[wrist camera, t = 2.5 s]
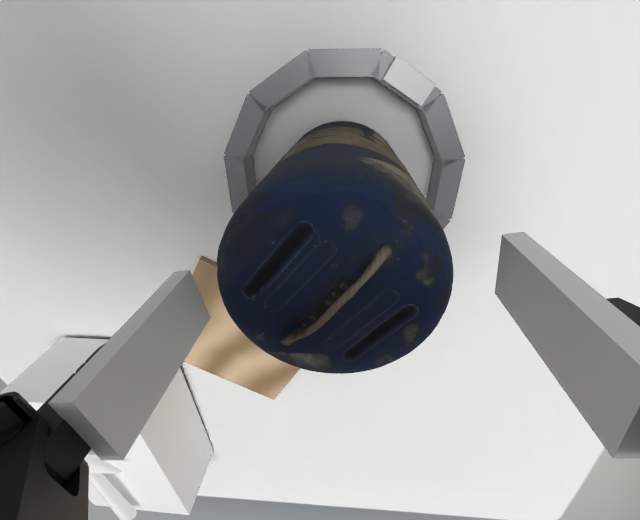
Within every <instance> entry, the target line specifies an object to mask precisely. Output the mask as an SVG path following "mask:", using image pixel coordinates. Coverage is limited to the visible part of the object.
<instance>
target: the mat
mask: <svg viewBox="0 0 640 520" xmlns="http://www.w3.org/2000/svg"><path fill="white" fill-rule="evenodd" d="M217 269H218V265H217V263H215V262H213V261H211V260H209V259H207V258H205V257H203V256H202V257H201V258H200V260H199V262H198V264H197V267H196V269H195V272H194V274H193V279H194V281H195V283H196V285H197V288H198V290H199V292H200V294H201V297H202V299H203V301H204V303H205V306H206V308H207V310H208V312H209V315H210V317H211V318H210V319H209V321H208V323H207V324H206V326H205V328H204V329H203V331H202V333H201V334H200V336H199V337H198V339H197V341H196V342H195V344H194V346H193V347H192V349H191V351H190V352H189V354H188V355H187V357H186V359H185V360H184V362H186V363H188V364H190V365H193V366H195V367H198V368H200V369H202V370H205V371H207V372H209V373H212V374H214V375H217V376H219V377H221V378H224V379H226V380H228V381H231V382H233V383H236V384H238V385H240V386H243V387H245V388H247V389H250V390H252V391H255V392H257V393H259V394H262V395H264V396H266V397H269V398H271V399H275V398H276V397H277V396H278V394H279V393H280V392H281V391H282V390H283V388H284V387H285V386H286V385H287V384H288V382H289V381H290V380H291V379H292V378H293V376H294V375H295V374H296V373H297V372H298V370H299V369H300V368H298V367H295V366H292V365H290V364H287V363H285V362H282V361H280V360H278V359H276V358H274V357H273V356H271V355H269V354H268V353H266V352H265V351H263V350H262V349H260V348H259V347H258V346H257V345H255V344H254V343H253V342H252V341H251V340H249V339H248V338H247V337H246V336H245V335H244V333H243V332H242V331H241V330H240V329H239V328H238V327H237V325H236V324H235V323H234V321H233V320H232V318H231V317H230V315H229V314H228V312H227V310H226V307H225V306H224V303H223V300H222V297H221V294H220V291H219V286H218V280H217Z"/></svg>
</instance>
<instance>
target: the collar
mask: <svg viewBox="0 0 640 520" xmlns="http://www.w3.org/2000/svg"><path fill="white" fill-rule="evenodd" d="M327 77H372V78H374V79H375V80H376V81H378V82H379V83H381V84H382V85H384V86H385V87H386V88H388V89H389V90H391V91H392V92H394V93H395V94H396V95H398V96H399V97H401V98H402V99H404V100H405V101H406V102H408V103H409V104H411V105H412V106H414V107H415V108H416V109H417V112H418V114H419V117H420V120H421V122H422V125H423V127H424V130H425V133H426V135H427V138H428V140H429V143H430V146H431V148H432V151H433V153H434V156H435V158H434V163H433V169H432V174H431V180H430V185H429V191H428V196H427V203H428V205H429V206H430V208H431V209H432V211H433V213H434V214H435V216H436V218H437V219H438V221H439V223H440V225H441V227H442V229H444V228H445V226H446V225H447V224H448V223H449V222H450V220H449V219H451V218H452V214H453V210H454V205H455V201H456V197H457V193H458V188H459V184H460V180H461V175H462V171H463V167H464V163H465V159H463V158H464V157H465V155H464V152H463V149H462V146H461V143H460V141H459V138H458V135H457V132H456V129H455V126H454V123H453V120H452V117H451V114H450V111H449V108H448V105H447V102H446V99H445V96H444V94H440V93H441V92H442V91H441V90H439V89H438V88H437V87H435V85H436V84H435V83H434V82H432V81H431V80H429V79H428V78H427V77H425V76H424V75H423V74H421V73H420V72H418V71H417V70H416V69H414V68H413V67H412V66H410V65H409V64H408V63H406V62H405V61H403V60H402V59H401V58H399V57H398V56H396V57H394V56H393V55H391V54H390V53H388V52H387V51H386V50H384V51H383V52H382V53H381V49H309V53H308V52H307V51H306V50H305V51H304V52H303V53H301V54H300V55H299V56H297V57H296V58H294V59H293V60H292V61H290V62H289V63H288V64H286V65H285V66H283V67H282V68H281V69H279V70H278V71H277V72H275V73H274V74H273V75H271V76H270V77H268V78H267V79H266V80H264V81H263V82H262V83H260V84H259V85H257V86H256V87H255V88H253V89H252V90H251V91H249V92H250V94H247V96H246V98H245V101H244V104H243V106H242V109H241V111H240V114H239V117H238V119H237V122H236V124H235V127H234V129H233V132H232V135H231V137H230V140H229V142H228V145H227V148H226V150H225V153H224V154H226V155H225V156H224V160H225V166H226V173H227V179H228V186H229V192H230V198H231V205H232V211H233V213H235V211H236V210H237V209H238V207H239V206H240V205H241V203H242V202H243V201H244V200H245V199H246V198H247V196H248V195H249V194H250V193H251V192H252V191H253V190H254V189H255V188H256V182H255V173H254V164H253V155H252V154H253V151H254V149H255V147H256V145H257V142H258V140H259V138H260V135H261V133H262V131H263V129H264V126H265V124H266V122H267V119H268V117H269V115H270V113H271V110H272V108H273V107H275V106H276V105H277V104H279V103H280V102H282V101H283V100H285V99H286V98H288V97H289V96H291V95H292V94H294V93H295V92H296V91H298V90H299V89H301V88H302V87H304V86H305V85H307V84H308V83H310V82H311V81H313V80H314V79H315V78H327Z"/></svg>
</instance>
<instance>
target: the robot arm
mask: <svg viewBox="0 0 640 520" xmlns="http://www.w3.org/2000/svg"><path fill="white" fill-rule="evenodd" d="M495 294H496V295H497V297H498V298H499V299H500V301H501V302H502V304H503V305H504V306H505V308H506V309H507V311H508V312H509V313H510V315H511V316H512V318H513V319H514V320H515V322H516V323H517V325H518V326H519V327H520V329H521V330H522V332H523V333H524V334H525V336H526V337H527V339H528V340H529V342H530V343H531V344H532V346H533V347H534V349H535V350H536V351H537V353H538V354H539V356H540V357H541V358H542V360H543V361H544V363H545V364H546V365H547V367H548V368H549V370H550V371H551V372H552V374H553V375H554V377H555V378H556V379H557V381H558V382H559V384H560V385H561V386H562V388H563V389H564V391H565V392H566V393H567V395H568V396H569V398H570V399H571V400H572V402H573V403H574V405H575V406H576V407H577V409H578V410H579V412H580V413H581V414H582V416H583V417H584V419H585V420H586V421H587V423H588V424H589V426H590V427H591V428H592V430H593V431H594V433H595V434H596V435H597V437H598V438H599V440H600V441H601V442H602V444H603V445H604V447H605V448H606V449H607V450H608V452H609V454H610V455H611V456H612V458H640V307H638V306H635V305H633V304H631V303H629V302H627V301H625V300H622V299H620V298H610V299H605V298H604V297H603V296H602V295H600V294H599V293H598V292H597V291H596V290H594V289H593V288H592V287H591V286H589V285H588V284H587V283H586V282H584V281H583V280H582V279H581V278H580V277H578V276H577V275H576V274H575V273H573V272H572V271H571V270H570V269H569V268H567V267H566V266H565V265H564V264H562V263H561V262H560V261H559V260H558V259H556V258H555V257H554V256H553V255H551V254H550V253H549V252H548V251H547V250H545V249H544V248H543V247H542V246H540V245H539V244H538V243H537V242H536V241H534V240H533V239H532V238H531V237H529V236H528V235H527V234H526V233H525V232H519V233H510V234H502V239H501V247H500V256H499V264H498V272H497V280H496V288H495ZM210 318H211V317H210V315H209V312H208V310H207V308H206V306H205V303H204V301H203V299H202V297H201V294H200V292H199V290H198V288H197V285H196V283H195V281H194V279H193V276H192V274H191V272H190V270H188V271H179V272H174V273H173V274H172V275H171V276H170V277H169V278H168V279H167V280H166V281H165V282H164V283H163V284H162V285H161V287H160V288H159V289H158V290H157V291H156V292H155V293H154V294H153V295H152V296H151V297H150V298H149V299H148V300H147V301H146V302H145V303H144V304H143V305H142V306H141V307H140V308H139V309H138V310H137V311H136V312H135V313H134V315H133V316H132V317H131V318H130V319H129V320H128V321H127V322H126V323H125V324H124V325H123V326H122V327H121V328H120V329H119V330H118V331H117V332H116V333H115V334H114V335H113V336H112V337H111V338H110V339H109V340H108V341H107V342H106V343H105V344H103V345H102V346H101V347H99V348H98V349H97V350H96V351H95V352H94V353H93V354H92V355H91V356H90V357H89V358H88V359H87V360H86V361H85V363H83V364H82V365H81V366H80V367H79V368H78V369H77V370H76V373H73V374H72V375H71V376H70V377H69V378H68V379H67V380H66V381H65V382H64V383H63V384H62V385H61V386H60V387H59V388H58V389H57V390H56V392H55V393H54V394H53V395H52V396H51V397H50V398H49V399H48V400H47V401H46V402H45V403H44V404H43V405H42V406H41V407H40V408H39V409H38V410H37V411H36V410H35V409H34V408H33V407H32V406H31V405H30V404H29V403H28V402H27V401H26V400H25V399H24V398H23V397H22V396H21V395H20V394H19V393H17V392H7V393H4V394H1V395H0V520H88V492H89V466H88V463H87V462H86V461H85V460H84V458H85V457H86V456H87V454H88V453H89V452H90V450H92V451H93V452H94V453H95V454H96V455H97V456H98V457H99V458H100V459H101V460H124V458H125V457H126V455H127V453H128V452H129V450H130V448H131V447H132V445H133V444H134V442H135V440H136V439H137V437H138V435H139V434H140V432H141V431H142V429H143V427H144V426H145V424H146V422H147V421H148V419H149V417H150V416H151V414H152V413H153V411H154V409H155V408H156V406H157V404H158V403H159V401H160V399H161V398H162V396H163V395H164V393H165V391H166V390H167V388H168V386H169V385H170V383H171V382H172V380H173V378H174V377H175V375H176V373H177V372H178V370H179V368H180V367H181V365H182V364H183V362H184V360H185V359H186V357H187V355H188V354H189V352H190V351H191V349H192V347H193V346H194V344H195V342H196V341H197V339H198V337H199V336H200V334H201V333H202V331H203V329H204V328H205V326H206V324H207V323H208V321H209V319H210Z"/></svg>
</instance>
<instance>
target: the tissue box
mask: <svg viewBox="0 0 640 520" xmlns="http://www.w3.org/2000/svg"><path fill="white" fill-rule="evenodd" d="M107 341H108V340H107V339H88V338H68V337H62V338H61V339H59V340H58V341H57V342H56V343H55V344H54V345H53V346H52V347H51V348H49V349H48V350H47V351H46V352H45V353H44V354H43V355H42V356H41V357H39V358H38V359H37V360H36V361H35V362H34V363H33V364H32V365H30V366H29V367H28V368H27V369H26V370H25V371H24V372H23V373H22V374H20V375H19V376H18V377H17V378H16V379H15V380H14V381H13V382H12V383H10V384H9V385H8V386H7V387H6V388H5V389H4V390H3V391H2V392H0V395H1V394H4V393H7V392H17V393H19V394H20V395H21V396H22V397H23V398H24V399H25V400H26V401H27V402H28V403H29V404H30V405H31V406H32V407H33V408H34V409H35V410H36V411H37V410H38V409H39V408H40V407H41V406H42V405H43V404H44V403H45V402H46V401H47V400H48V399H49V398H50V397H51V396H52V395H53V394H54V393H55V392H56V390H57V389H58V388H59V387H60V386H61V385H62V384H63V383H64V382H65V381H66V380H67V379H68V378H69V377H70V376H71V375H72V374H73V373H76V370H77V369H78V368H79V367H80V366H81V365H82V364H83V363H85V361H86V360H87V359H88V358H89V357H90V356H91V355H92V354H93V353H94V352H95V351H96V350H97V349H98V348H99V347H101V346H102V345H103V344H105V343H106V342H107ZM212 453H213V448H212V446H211V443H210V441H209V438H208V436H207V433H206V431H205V428H204V426H203V423H202V421H201V418H200V416H199V413H198V411H197V408H196V406H195V403H194V401H193V398H192V396H191V393H190V391H189V388H188V386H187V383H186V381H185V378H184V376H183V373H182V371H181V369H180V368H179V370H178V372H177V373H176V375H175V377H174V378H173V380H172V382H171V383H170V385H169V386H168V388H167V390H166V391H165V393H164V395H163V396H162V398H161V399H160V401H159V403H158V404H157V406H156V408H155V409H154V411H153V413H152V414H151V416H150V417H149V419H148V421H147V422H146V424H145V426H144V427H143V429H142V431H141V432H140V434H139V435H138V437H137V439H136V440H135V442H134V444H133V445H132V447H131V448H130V450H129V452H128V453H127V455H126V457H125V458H124V460H101V459H100V458H99V457H98V456H97V455H96V454H95V453H94V452H93V451H92V450H90V452H89V453H88V454H87V456H86V457H85V458H84V460H85V461H86V462H87V463H88V466H89V492H88V499H89V500H90V501H91V502H92V503H93V504H94V505H99V506H108V507H110V508H111V509H112V510H113V511H114V513H115V514H116V515H117V516H118V518H119V519H120V520H132V519H134V518H135V516H136V514H137V512H136V510H135V509H137V510H146V511H155V512H165V513H174V514H184V515H190V512H191V510H192V507H193V504H194V501H195V499H196V496H197V493H198V491H199V488H200V485H201V483H202V480H203V477H204V474H205V472H206V469H207V466H208V464H209V461H210V458H211V456H212Z"/></svg>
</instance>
